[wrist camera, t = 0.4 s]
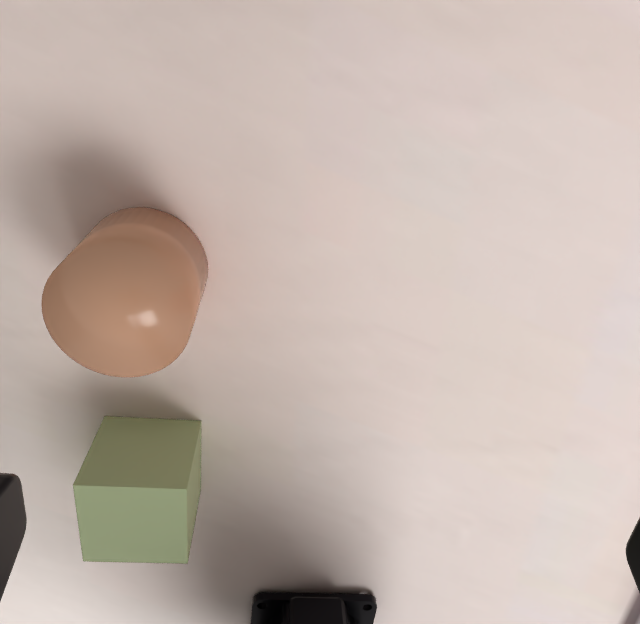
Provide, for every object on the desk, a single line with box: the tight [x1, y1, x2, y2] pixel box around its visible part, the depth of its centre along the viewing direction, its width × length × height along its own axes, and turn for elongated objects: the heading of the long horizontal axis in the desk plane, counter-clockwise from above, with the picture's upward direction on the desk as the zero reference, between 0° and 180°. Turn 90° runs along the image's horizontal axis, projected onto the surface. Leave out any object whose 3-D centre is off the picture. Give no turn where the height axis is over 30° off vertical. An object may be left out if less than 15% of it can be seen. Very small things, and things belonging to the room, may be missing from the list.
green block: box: [73, 416, 201, 564], centre depth 23 cm, size 4×4×4 cm
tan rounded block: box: [42, 207, 208, 377], centre depth 18 cm, size 4×4×4 cm
